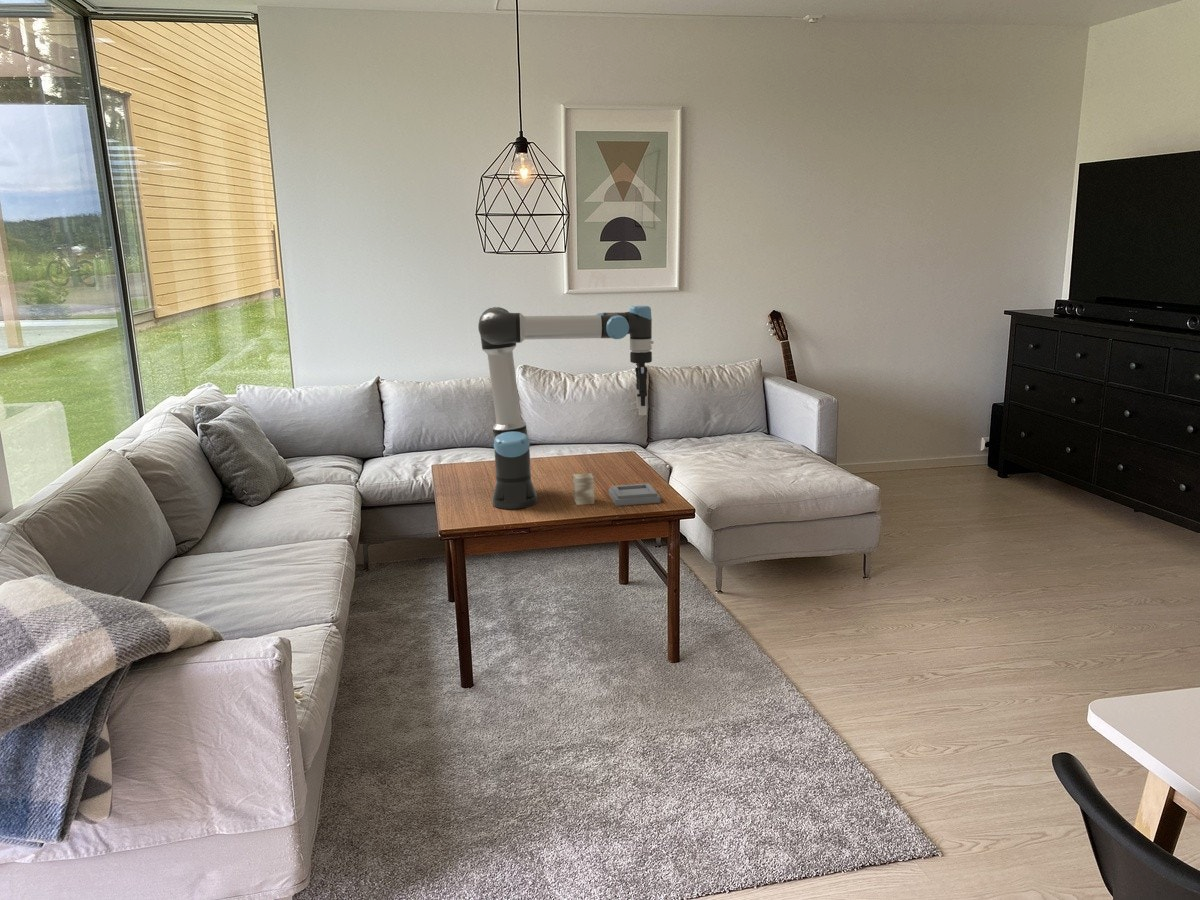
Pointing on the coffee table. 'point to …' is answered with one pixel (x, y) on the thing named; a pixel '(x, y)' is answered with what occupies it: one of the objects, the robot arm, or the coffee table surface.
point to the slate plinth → (634, 494)
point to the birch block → (583, 489)
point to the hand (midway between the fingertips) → (641, 411)
